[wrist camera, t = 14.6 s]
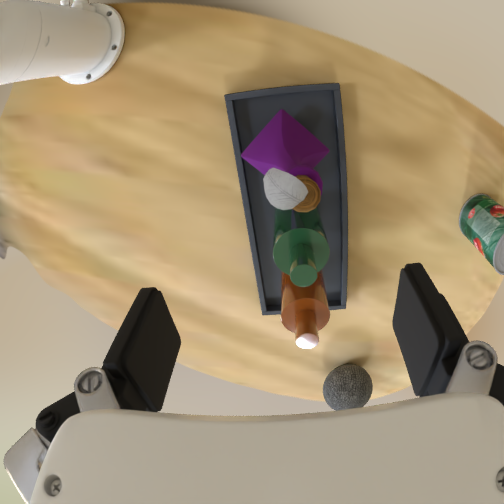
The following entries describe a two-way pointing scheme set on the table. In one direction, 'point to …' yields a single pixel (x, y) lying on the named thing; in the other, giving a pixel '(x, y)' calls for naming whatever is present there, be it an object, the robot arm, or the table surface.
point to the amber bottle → (304, 309)
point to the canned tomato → (485, 228)
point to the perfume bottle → (288, 163)
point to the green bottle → (300, 244)
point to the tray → (329, 168)
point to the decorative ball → (347, 387)
